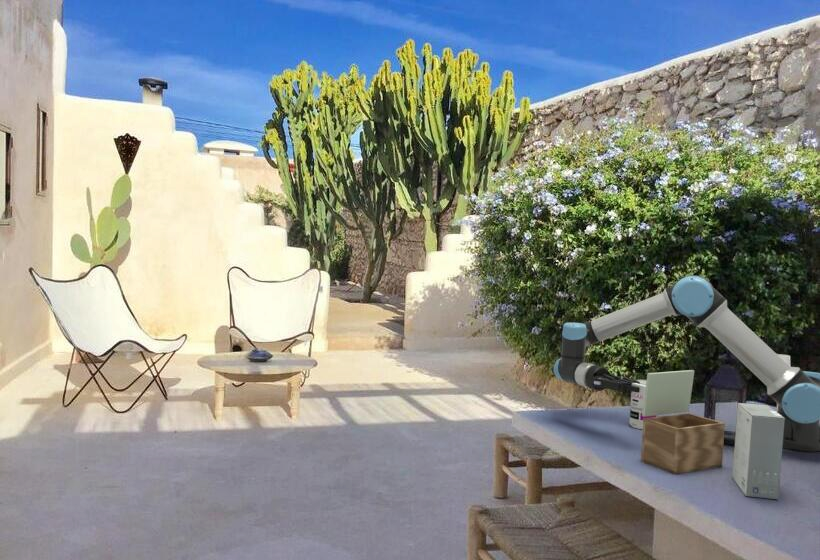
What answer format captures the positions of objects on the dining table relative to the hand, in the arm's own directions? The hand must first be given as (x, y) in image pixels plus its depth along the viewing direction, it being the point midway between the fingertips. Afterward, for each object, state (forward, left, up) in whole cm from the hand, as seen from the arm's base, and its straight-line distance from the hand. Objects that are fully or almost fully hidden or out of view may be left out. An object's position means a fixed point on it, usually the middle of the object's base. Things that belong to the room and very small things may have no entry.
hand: (650, 392), depth 214 cm
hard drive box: (-18, +28, -18) cm, 38 cm away
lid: (-4, +6, +1) cm, 7 cm away
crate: (-6, +10, -18) cm, 21 cm away
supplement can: (-7, -30, -18) cm, 35 cm away
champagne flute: (-56, -41, -18) cm, 72 cm away
